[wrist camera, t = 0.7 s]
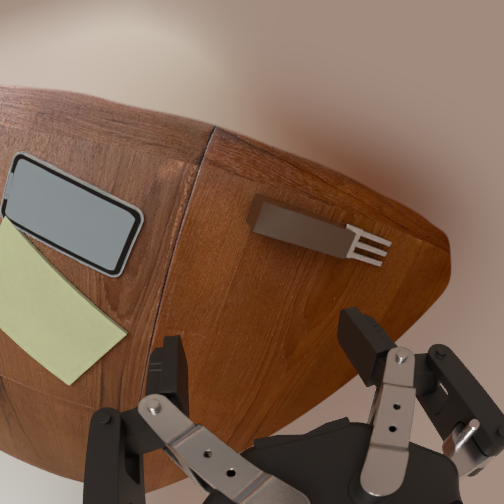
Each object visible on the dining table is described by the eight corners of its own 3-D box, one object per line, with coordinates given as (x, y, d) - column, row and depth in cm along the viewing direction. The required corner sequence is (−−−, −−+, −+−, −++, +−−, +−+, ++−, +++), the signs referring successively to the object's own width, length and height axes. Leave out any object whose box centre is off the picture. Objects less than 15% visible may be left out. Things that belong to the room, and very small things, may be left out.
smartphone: (118, 281, 26) (-2, 218, 20) (120, 277, 26) (2, 215, 21) (147, 212, 24) (16, 148, 18) (149, 210, 24) (20, 147, 19)
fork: (244, 223, 26) (251, 235, 23) (257, 190, 25) (265, 197, 22) (375, 264, 30) (391, 277, 27) (387, 237, 29) (404, 249, 26)
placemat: (-29, 292, 22) (-31, 294, 22) (7, 214, 21) (5, 215, 20) (70, 383, 30) (69, 385, 29) (127, 331, 28) (127, 334, 28)
